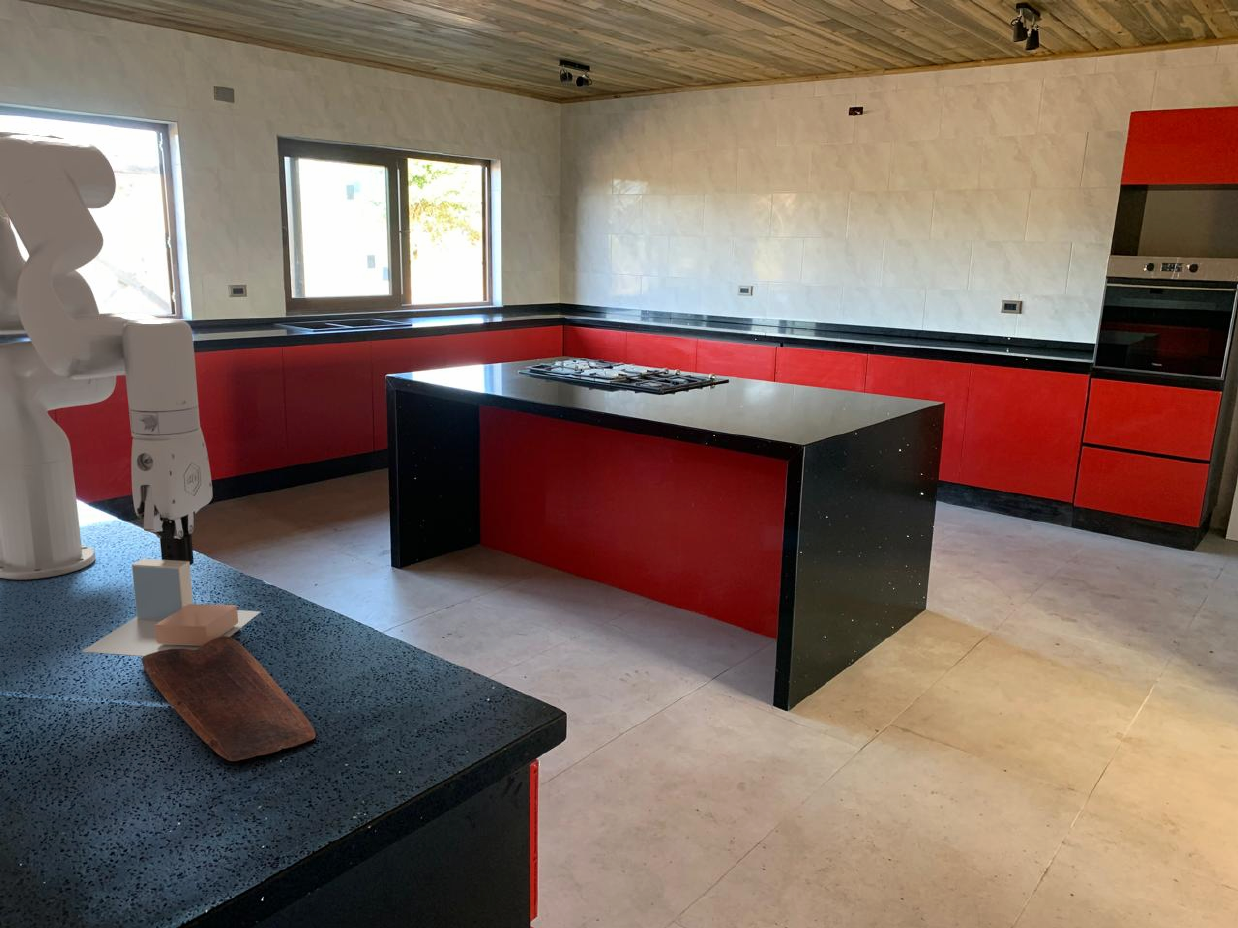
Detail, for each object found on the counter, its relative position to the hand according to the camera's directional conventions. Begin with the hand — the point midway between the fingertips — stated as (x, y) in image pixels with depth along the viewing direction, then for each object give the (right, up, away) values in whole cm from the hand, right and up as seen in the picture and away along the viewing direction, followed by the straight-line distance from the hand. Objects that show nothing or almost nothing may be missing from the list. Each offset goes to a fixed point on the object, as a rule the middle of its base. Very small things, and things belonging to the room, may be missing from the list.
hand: (178, 565), depth 113 cm
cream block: (-1, -6, -2) cm, 7 cm away
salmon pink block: (+6, -5, -4) cm, 9 cm away
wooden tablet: (+15, -11, -21) cm, 29 cm away
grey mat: (+3, -7, -6) cm, 10 cm away
